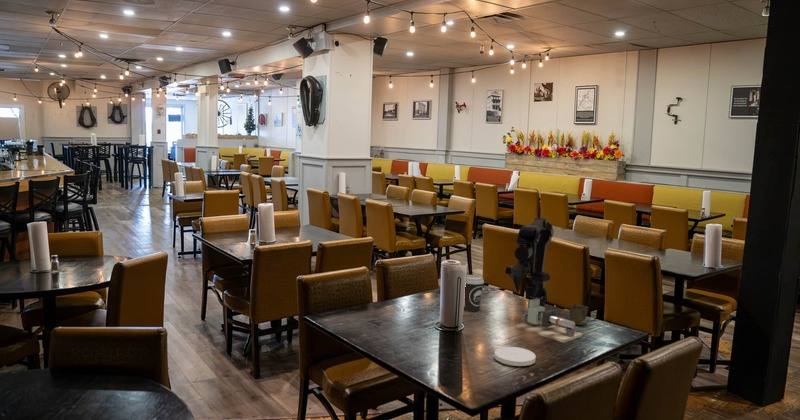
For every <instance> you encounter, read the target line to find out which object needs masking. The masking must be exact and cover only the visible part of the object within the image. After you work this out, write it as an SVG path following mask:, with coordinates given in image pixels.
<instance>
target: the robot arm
mask: <svg viewBox="0 0 800 420" xmlns="http://www.w3.org/2000/svg"><path fill="white" fill-rule="evenodd" d="M554 230H555V229H554V227H553V225H552V223H550V222H549V221H548V220H547V219H546V218H544V217H543V218H542V217H536V218H534V220H533V221H532V222H531V223H530V224H527V225H523V226H521V228H520V229H519V232H518V235H517V240H516V244H519V246H518V247H517V248H516V249H515V251H514V257H515V258H516V259H517V260H518V262H517V263H516V264H514V265H509V266H508V265H507V266H506V267H505V268H504V274H506V275H508V277H509V278H511V279H512V282H513V284H514V287H515V291H516V292H517V293H518V292H520V288H521V280H522V277H523V276H527V277H530V278H528V280H527V283H526V285H525V300H528V303H527V308H529V300H532V299H536V298H537V299H540V304H539V306H542V307H545V308H546V305H545V302H548V291H547V288H546V283H545V282H547V281H550V280H551V279H550V278H551V276H550V274H549V272H545V271H544V270H545V263H546V254H547V248H548V245H549V244H550V243H551V241H552V238H553V237H554V234H555V233H554V232H555V231H554Z"/></svg>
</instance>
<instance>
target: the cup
mask: <svg viewBox="0 0 800 420" xmlns="http://www.w3.org/2000/svg"><path fill="white" fill-rule="evenodd" d="M588 311H589V306H587V305H584V304H579V303H577V304H575V303H573V304H572V303H571V304H570V305H569V315H570V316H569V317H570V320H571V321H574V322H575V326H578V327H579V326H582V325H583V322H584V321H585V320H586V318H587V314H588Z"/></svg>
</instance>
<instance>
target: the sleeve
mask: <svg viewBox="0 0 800 420" xmlns="http://www.w3.org/2000/svg"><path fill="white" fill-rule="evenodd" d="M539 304H540V299H537V298H536V299H532V300H529V308H528V307H527V308H528V320H527V322H529V323H533V324H538V323H541V322H542V320H540V319H538V312H542V313H543V312H544V311H546V306H545V307H542V306H539Z"/></svg>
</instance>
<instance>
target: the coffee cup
mask: <svg viewBox="0 0 800 420" xmlns="http://www.w3.org/2000/svg"><path fill="white" fill-rule="evenodd" d="M466 276H467V277H466V280H467V281H466V287H465V298H464V310H465V311H467V312H471V313H476V312H477V313H478V312H480V308H481V300H482V294H483V287H484V284H485V281H484V280H485V279H483V277H482V276H480V275H474V274H472V275H470V274H468V275H466Z"/></svg>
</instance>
